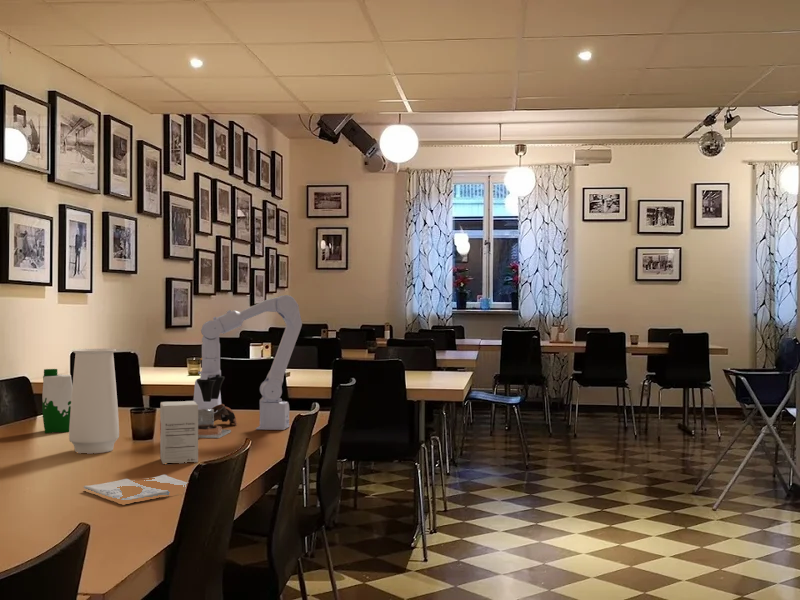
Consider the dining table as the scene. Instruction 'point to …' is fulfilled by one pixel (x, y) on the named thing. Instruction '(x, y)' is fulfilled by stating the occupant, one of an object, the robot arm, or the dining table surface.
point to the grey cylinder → (205, 418)
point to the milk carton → (56, 401)
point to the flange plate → (212, 432)
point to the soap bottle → (199, 398)
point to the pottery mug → (224, 414)
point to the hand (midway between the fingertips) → (211, 400)
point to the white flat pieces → (114, 492)
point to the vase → (94, 402)
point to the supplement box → (178, 432)
